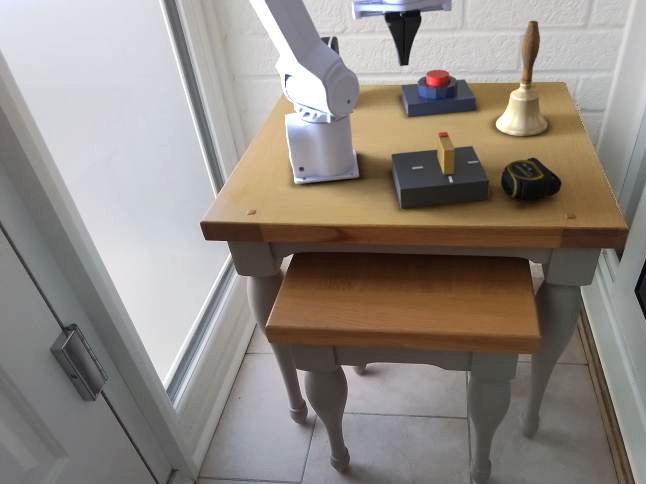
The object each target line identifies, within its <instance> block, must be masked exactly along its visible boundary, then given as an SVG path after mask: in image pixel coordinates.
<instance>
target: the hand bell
mask: <svg viewBox="0 0 646 484" xmlns="http://www.w3.org/2000/svg"><path fill="white" fill-rule="evenodd" d="M540 44H541V34H540V29H539V22H538V21H537V20H530V21H529V22H528V25H527V27H526V29H525V32H524V35H523V38H522V44H521V58H522V71H521V79H520V85H519V88H516V89H514V90H513V91H512V92H511V93H510V96H509V99H508V104H507V107H506V109H505V111H504V112H503V114H502V115H500V116H499V118H497V120H496V121H495V126H496V128H497V130H499V131H500V132H502V133H504V134H507V135H510V136H516V137H527V136H535V135H538V134H541V133H543V132H544V131H546V130H547V128H548V122H547V120H546V119H545V117H544V116H543V115H542V113H541V109H540V94H539V92H538V91H537V90H535V89H533V88H532V83H533V71H534V66H535V62H536V60H537V57H538V54H539V51H540V46H541V45H540Z"/></svg>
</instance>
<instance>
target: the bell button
mask: <svg viewBox="0 0 646 484" xmlns="http://www.w3.org/2000/svg"><path fill="white" fill-rule="evenodd" d="M449 75H450V72H449V71H447V70H445V69H432V70H429V71H427V72H426V73H425V76H426V84H427V85H429V86H435V87H438V86H445V85H447V84H449Z"/></svg>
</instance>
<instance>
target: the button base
mask: <svg viewBox="0 0 646 484" xmlns="http://www.w3.org/2000/svg"><path fill="white" fill-rule="evenodd" d="M400 93H401V94H400V97H401V100H402V103H403V106H404V108H405V112H406V114H407V117H408V118H409V117H410V118H411V117H420V116H430V115H441V114H451V113H452V114H453V113H460V112H472V111H476V106H477V97H476V96H475V94H474V92H473V90H472V89H471V87H470V86H469V83H468V82H467V80H466V78H464V79H463V78H462V79H457V78H456V77H455V76H452V75H450V74H449V84H447V85H445V86H438V87H435V86H429V85H427V84H426V75H425V76H422V77H420V78H419V79H418V80H417V83H411V84H401V85H400Z"/></svg>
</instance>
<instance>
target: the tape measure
mask: <svg viewBox="0 0 646 484" xmlns="http://www.w3.org/2000/svg"><path fill="white" fill-rule="evenodd" d="M500 185H501V187H502V190H503V192H504V193H505V194H506V196H508V197H510V198H511V199H513V200H516V201H520V202H526V203H527V202H528V203H529V202H531V203H533V202H539V201H541V200H544V199H545V198H549V197H551V196H555V195H557V194H558V193H559V192H560V191H561V189H562V180H561V178H560V177H559V176H558V175H557V174H556V173H555V172H553V171H552V170H550V169H549V167H546V166H545V165H544V164H543V163H542V162H541V161H540V160H539V159H538V158H536V157H533V156H532V157H530V158H527V159H516V160H513V161H511V162H510V163H508V164H507V165H505V167H504V169H503V171H502V173H501V179H500Z"/></svg>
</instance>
